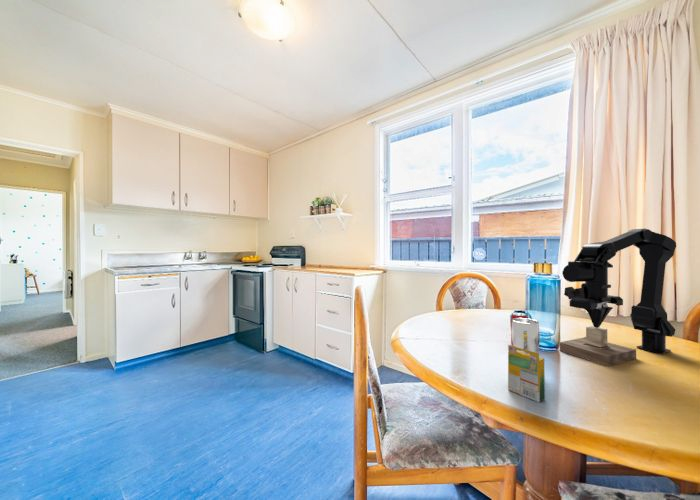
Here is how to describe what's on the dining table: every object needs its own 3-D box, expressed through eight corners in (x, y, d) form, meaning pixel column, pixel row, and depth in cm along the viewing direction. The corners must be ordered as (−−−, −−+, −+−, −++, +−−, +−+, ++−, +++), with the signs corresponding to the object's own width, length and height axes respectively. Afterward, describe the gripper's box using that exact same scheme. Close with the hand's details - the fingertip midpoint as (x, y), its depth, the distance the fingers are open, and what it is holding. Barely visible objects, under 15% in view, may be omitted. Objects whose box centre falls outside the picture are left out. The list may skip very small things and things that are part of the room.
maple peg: (593, 351, 97) (593, 325, 97) (607, 355, 93) (607, 329, 93) (585, 353, 95) (585, 327, 95) (600, 357, 92) (600, 330, 92)
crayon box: (545, 399, 67) (545, 351, 67) (539, 403, 65) (539, 353, 65) (513, 386, 73) (513, 342, 73) (507, 390, 72) (507, 344, 71)
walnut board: (586, 344, 104) (586, 336, 104) (636, 358, 91) (636, 349, 91) (559, 350, 98) (559, 342, 98) (608, 366, 85) (608, 356, 85)
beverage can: (530, 350, 99) (530, 316, 99) (514, 349, 100) (514, 315, 100) (524, 345, 104) (524, 312, 104) (509, 344, 105) (508, 312, 105)
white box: (530, 379, 77) (530, 325, 77) (506, 369, 84) (506, 319, 83) (545, 373, 81) (544, 321, 80) (520, 364, 87) (520, 316, 87)
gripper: (586, 277, 105) (586, 319, 105) (552, 280, 98) (553, 324, 98) (623, 280, 95) (624, 326, 95) (589, 283, 88) (589, 333, 88)
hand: (596, 327), depth 94 cm, fingers closed
